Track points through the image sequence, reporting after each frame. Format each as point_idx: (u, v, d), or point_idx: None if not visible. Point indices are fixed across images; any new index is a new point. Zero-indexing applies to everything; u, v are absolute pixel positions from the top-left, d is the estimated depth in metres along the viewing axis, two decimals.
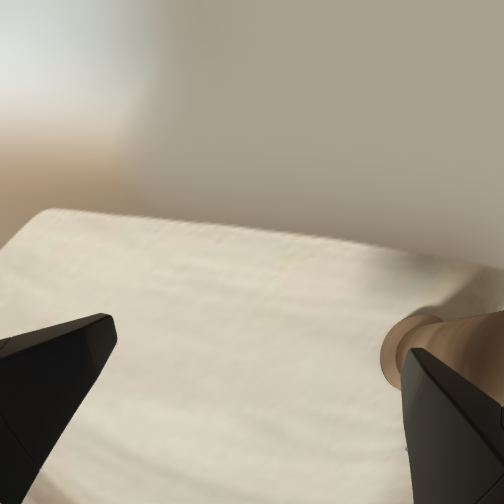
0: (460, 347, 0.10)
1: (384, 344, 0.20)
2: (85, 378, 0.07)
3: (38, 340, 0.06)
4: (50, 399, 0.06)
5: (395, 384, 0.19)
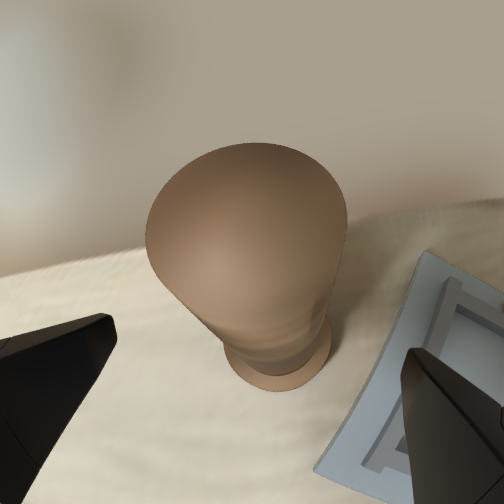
0: None
1: None
2: (85, 378, 0.07)
3: (38, 340, 0.06)
4: (50, 399, 0.06)
5: (249, 382, 0.15)
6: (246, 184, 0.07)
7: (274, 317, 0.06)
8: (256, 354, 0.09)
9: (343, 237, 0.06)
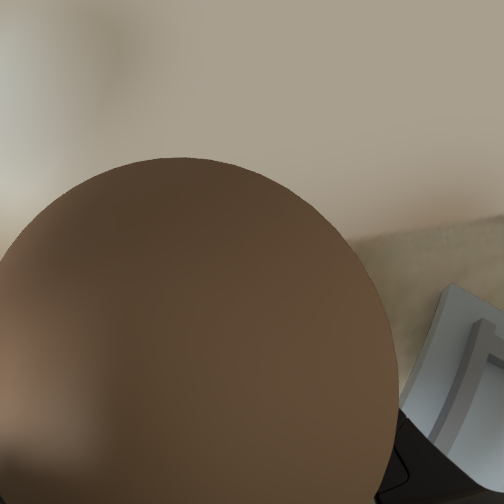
0: None
1: None
2: None
3: None
4: None
5: None
6: (120, 283, 0.02)
7: None
8: None
9: (375, 482, 0.01)
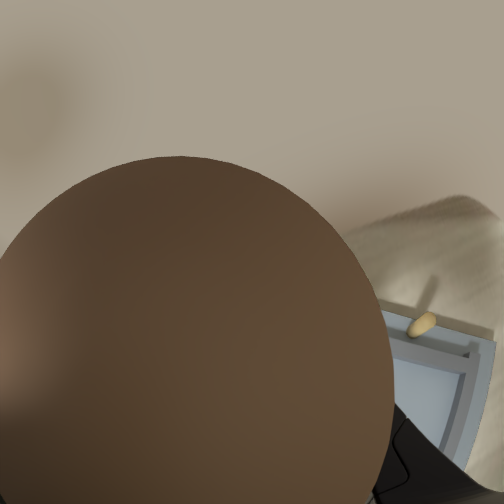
0: None
1: None
2: None
3: None
4: None
5: None
6: (117, 280, 0.02)
7: None
8: None
9: (372, 478, 0.01)
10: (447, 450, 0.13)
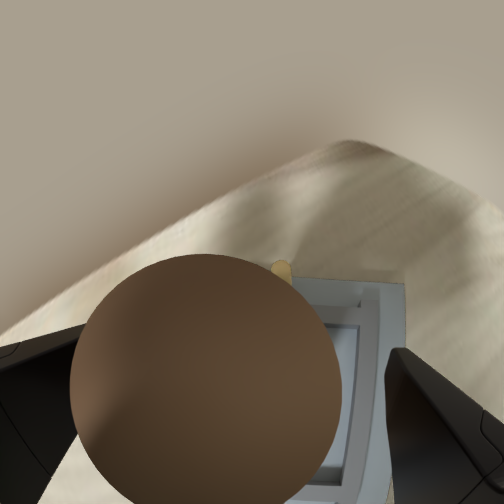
0: None
1: None
2: None
3: (50, 345, 0.06)
4: (62, 405, 0.06)
5: None
6: (193, 338, 0.04)
7: None
8: None
9: (331, 440, 0.03)
10: (356, 422, 0.13)
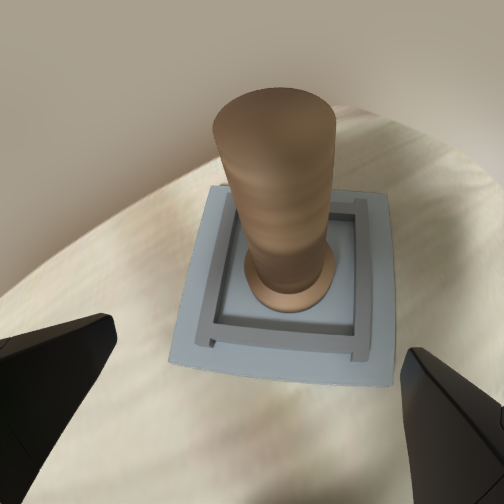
0: None
1: None
2: (85, 378, 0.07)
3: (38, 340, 0.06)
4: (50, 399, 0.06)
5: (267, 300, 0.19)
6: (274, 106, 0.11)
7: (296, 170, 0.10)
8: (279, 235, 0.13)
9: (334, 128, 0.10)
10: (359, 281, 0.19)
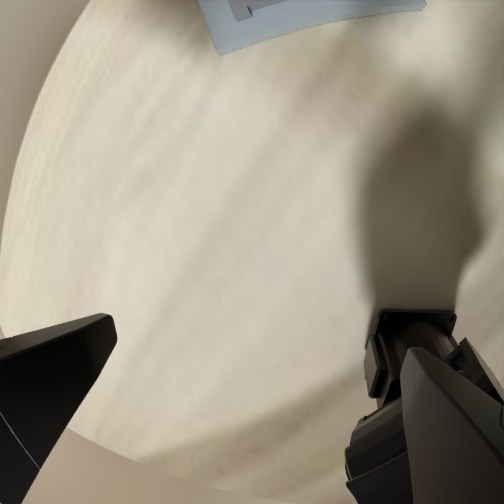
0: None
1: None
2: (85, 378, 0.07)
3: (38, 340, 0.06)
4: (50, 399, 0.06)
5: None
6: None
7: None
8: None
9: None
10: None
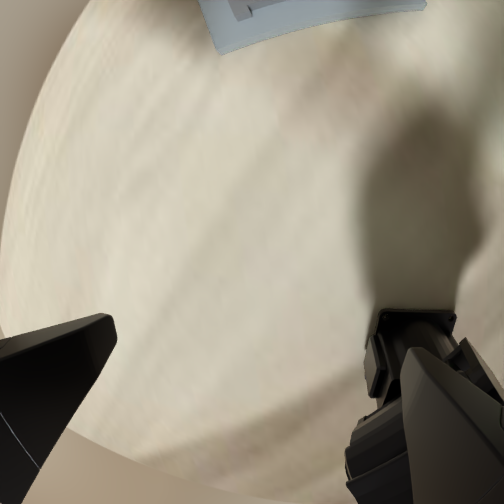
0: None
1: None
2: (85, 378, 0.07)
3: (38, 340, 0.06)
4: (50, 399, 0.06)
5: None
6: None
7: None
8: None
9: None
10: None
